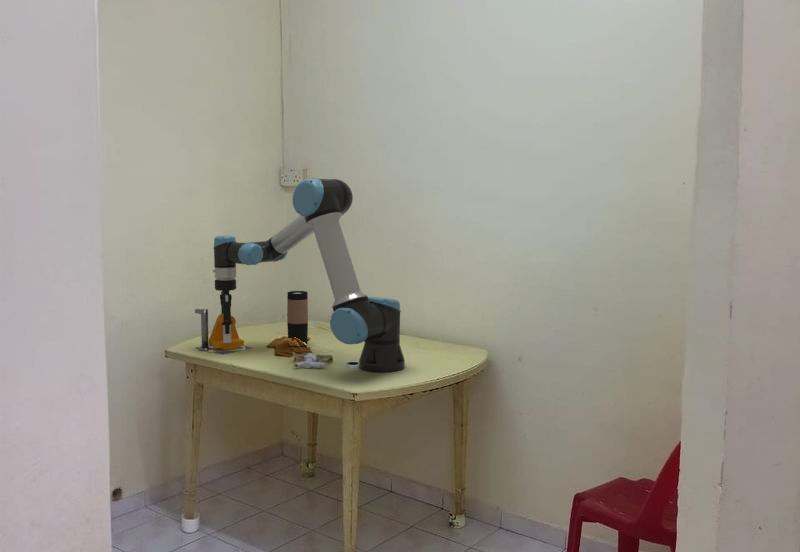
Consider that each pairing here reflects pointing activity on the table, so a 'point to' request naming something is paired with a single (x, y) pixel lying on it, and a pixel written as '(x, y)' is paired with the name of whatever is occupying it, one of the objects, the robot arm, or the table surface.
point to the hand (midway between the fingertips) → (226, 339)
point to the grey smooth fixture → (204, 329)
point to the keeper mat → (220, 351)
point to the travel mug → (297, 315)
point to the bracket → (217, 335)
